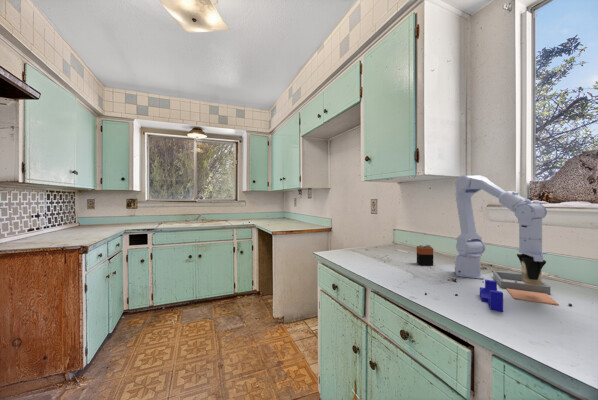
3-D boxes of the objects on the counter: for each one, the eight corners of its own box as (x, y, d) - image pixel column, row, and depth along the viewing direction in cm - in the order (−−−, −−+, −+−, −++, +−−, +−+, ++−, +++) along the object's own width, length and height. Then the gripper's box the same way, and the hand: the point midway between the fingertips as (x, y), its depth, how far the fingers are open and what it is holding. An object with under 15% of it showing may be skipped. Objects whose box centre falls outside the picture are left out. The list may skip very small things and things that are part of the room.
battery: (433, 265, 121) (433, 246, 120) (419, 265, 121) (419, 246, 121) (430, 263, 125) (429, 244, 125) (416, 263, 126) (416, 244, 126)
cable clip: (479, 295, 86) (479, 278, 85) (495, 297, 83) (495, 280, 83) (484, 309, 75) (484, 290, 75) (503, 312, 73) (503, 293, 73)
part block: (525, 284, 82) (525, 263, 82) (521, 280, 86) (521, 260, 86) (541, 285, 80) (541, 264, 80) (536, 282, 84) (536, 261, 84)
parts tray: (501, 287, 91) (501, 281, 91) (493, 276, 103) (493, 271, 103) (550, 294, 85) (550, 287, 85) (535, 281, 97) (535, 275, 97)
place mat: (513, 298, 82) (513, 297, 82) (506, 289, 90) (506, 288, 90) (558, 305, 77) (558, 304, 77) (546, 294, 84) (546, 293, 84)
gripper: (556, 242, 74) (556, 286, 75) (537, 235, 87) (538, 272, 87) (526, 241, 78) (526, 282, 78) (512, 234, 91) (512, 270, 91)
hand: (530, 277), depth 83 cm, fingers closed on part block, 4 cm apart
